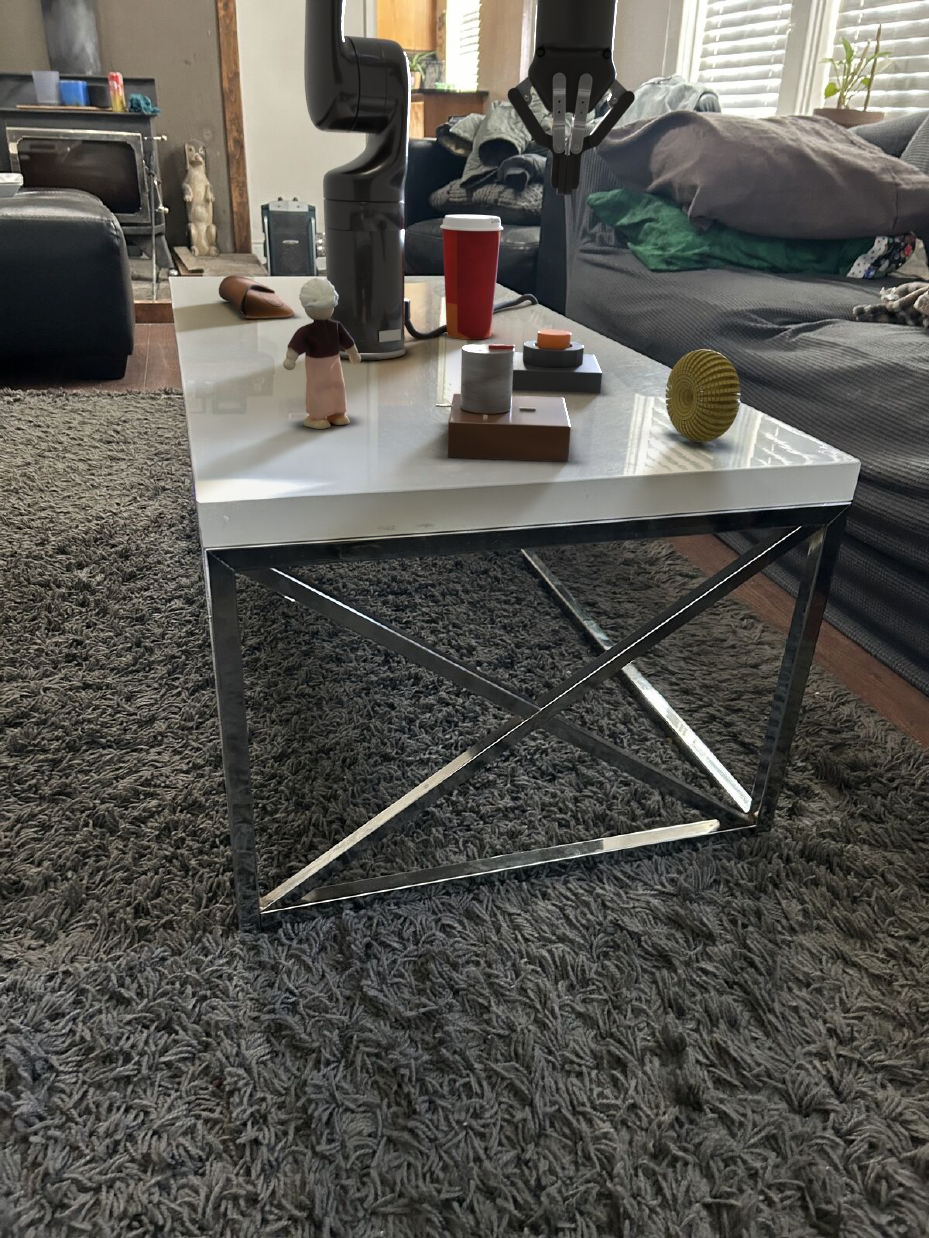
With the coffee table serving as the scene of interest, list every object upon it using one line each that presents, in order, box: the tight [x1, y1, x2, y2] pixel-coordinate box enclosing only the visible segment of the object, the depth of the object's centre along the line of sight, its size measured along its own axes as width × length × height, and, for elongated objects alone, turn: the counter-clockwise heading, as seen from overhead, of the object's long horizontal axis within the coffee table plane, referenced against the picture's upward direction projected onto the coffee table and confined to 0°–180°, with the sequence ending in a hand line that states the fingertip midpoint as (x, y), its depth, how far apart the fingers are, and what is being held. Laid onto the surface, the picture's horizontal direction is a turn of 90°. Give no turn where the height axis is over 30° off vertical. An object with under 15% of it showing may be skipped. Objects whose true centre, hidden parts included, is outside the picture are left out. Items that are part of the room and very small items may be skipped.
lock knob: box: [460, 342, 515, 414], centre depth 81 cm, size 4×4×5 cm
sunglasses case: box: [218, 275, 296, 320], centre depth 144 cm, size 18×7×7 cm, turn 23°
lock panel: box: [435, 393, 572, 462], centre depth 83 cm, size 10×11×3 cm
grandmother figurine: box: [282, 277, 362, 430], centre depth 85 cm, size 8×4×13 cm, turn 141°
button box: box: [512, 339, 603, 394], centre depth 105 cm, size 10×10×4 cm
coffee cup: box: [439, 214, 504, 340], centre depth 127 cm, size 8×8×15 cm
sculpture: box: [664, 348, 742, 443], centre depth 84 cm, size 8×4×8 cm, turn 24°
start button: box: [536, 328, 572, 349], centre depth 104 cm, size 4×4×2 cm
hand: (563, 194), depth 97 cm, fingers closed
